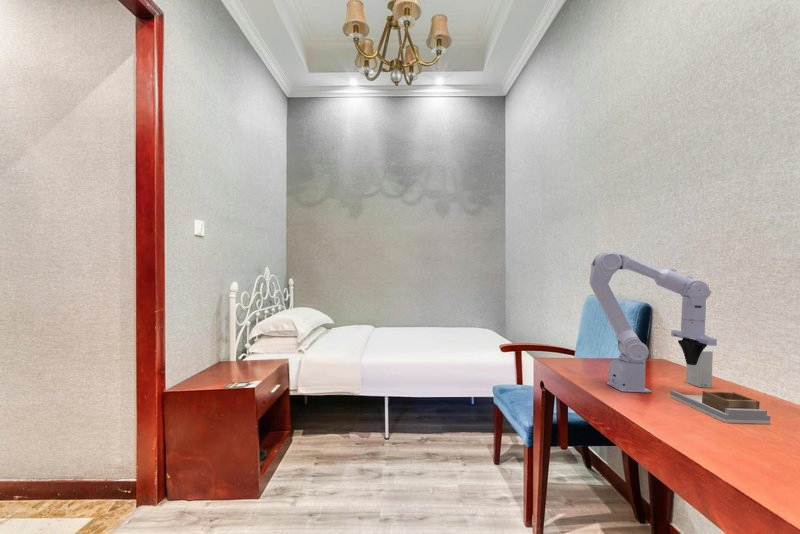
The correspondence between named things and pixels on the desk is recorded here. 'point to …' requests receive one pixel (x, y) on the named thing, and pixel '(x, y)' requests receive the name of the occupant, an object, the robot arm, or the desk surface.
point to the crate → (728, 400)
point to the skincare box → (701, 370)
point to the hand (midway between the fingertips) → (691, 364)
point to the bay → (730, 413)
